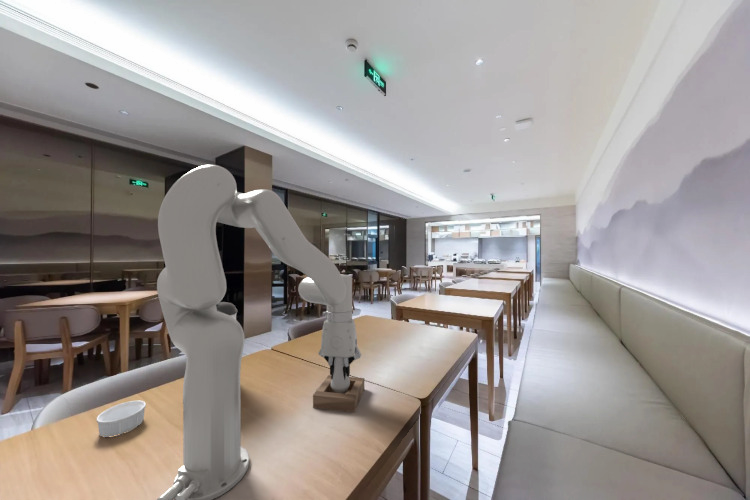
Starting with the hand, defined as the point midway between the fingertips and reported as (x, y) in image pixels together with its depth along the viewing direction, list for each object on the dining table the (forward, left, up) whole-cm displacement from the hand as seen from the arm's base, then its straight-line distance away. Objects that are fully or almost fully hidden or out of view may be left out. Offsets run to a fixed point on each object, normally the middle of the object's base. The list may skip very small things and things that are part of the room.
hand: (339, 377), depth 77 cm
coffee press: (-3, +40, -6) cm, 41 cm away
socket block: (0, 0, -6) cm, 6 cm away
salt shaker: (0, 0, -4) cm, 4 cm away
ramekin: (-22, +50, -6) cm, 55 cm away
